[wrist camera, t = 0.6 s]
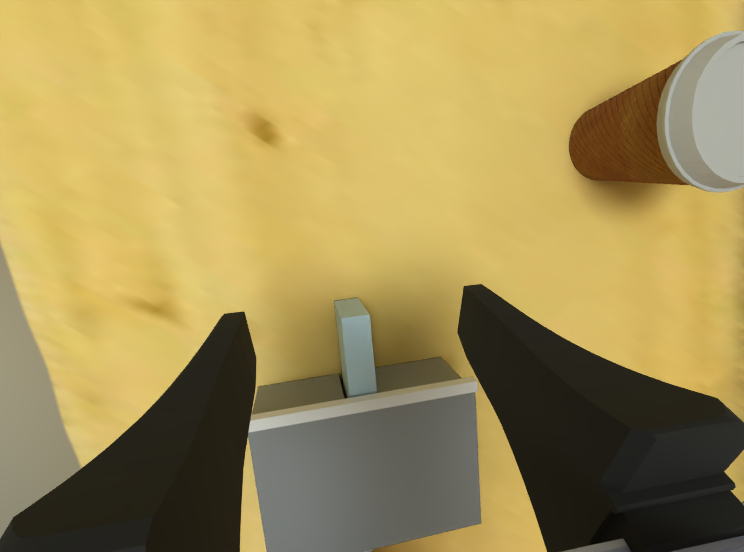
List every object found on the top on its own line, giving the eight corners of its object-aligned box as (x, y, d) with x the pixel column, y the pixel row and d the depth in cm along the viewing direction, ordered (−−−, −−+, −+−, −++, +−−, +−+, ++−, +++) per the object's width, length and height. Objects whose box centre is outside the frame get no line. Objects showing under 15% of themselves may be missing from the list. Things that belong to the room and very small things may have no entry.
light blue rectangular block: (372, 449, 35) (386, 491, 30) (350, 453, 35) (360, 497, 29) (357, 297, 32) (369, 314, 27) (334, 300, 32) (341, 318, 27)
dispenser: (449, 466, 37) (483, 522, 30) (273, 503, 34) (267, 574, 28) (442, 348, 35) (477, 381, 28) (254, 378, 32) (242, 422, 25)
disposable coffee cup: (584, 65, 33) (739, -14, 22) (664, 121, 35) (842, 76, 24) (533, 167, 34) (657, 144, 22) (614, 216, 36) (765, 218, 24)
